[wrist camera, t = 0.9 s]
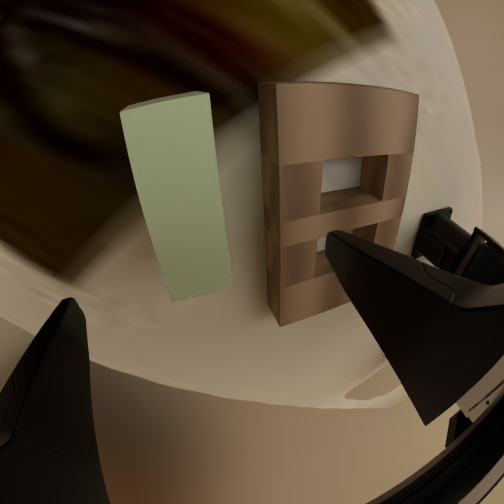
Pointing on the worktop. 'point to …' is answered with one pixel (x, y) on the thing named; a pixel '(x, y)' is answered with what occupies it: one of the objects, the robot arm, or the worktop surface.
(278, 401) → the worktop surface
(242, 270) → the worktop surface
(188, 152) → the sage green tapered block
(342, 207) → the brown wooden flat panel
